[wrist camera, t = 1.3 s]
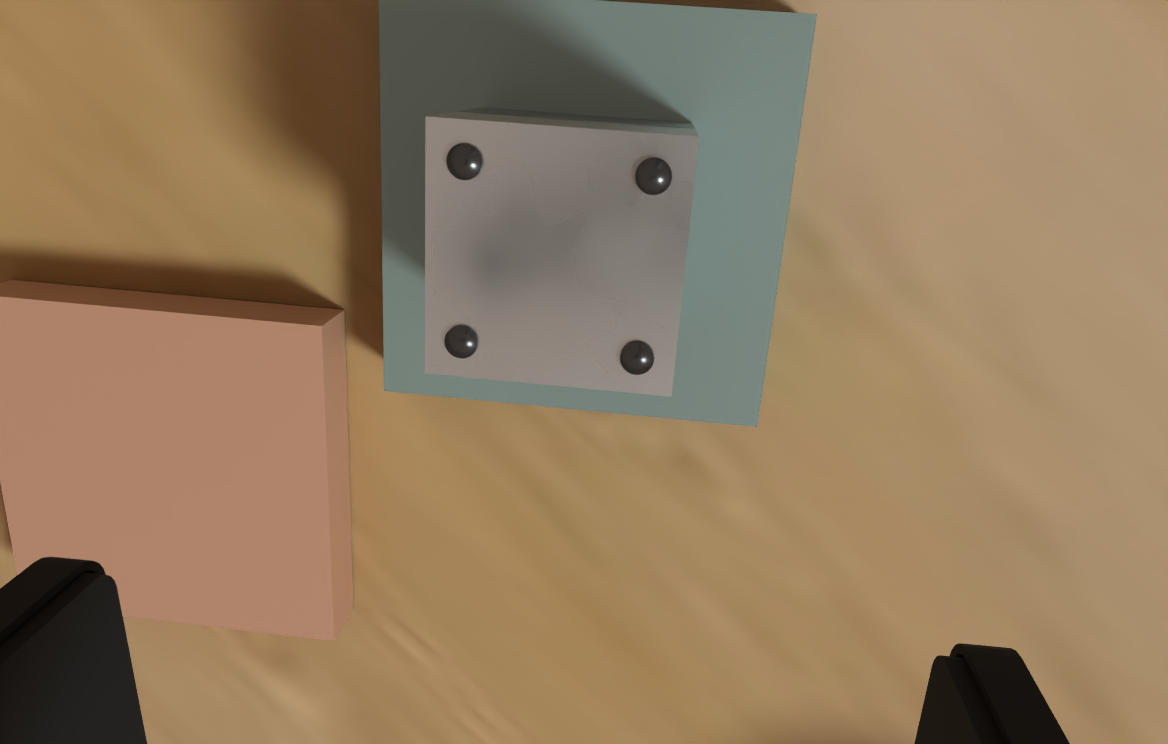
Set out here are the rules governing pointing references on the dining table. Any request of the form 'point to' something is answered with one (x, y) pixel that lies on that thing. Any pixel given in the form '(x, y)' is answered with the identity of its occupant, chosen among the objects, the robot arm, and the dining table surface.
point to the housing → (556, 247)
